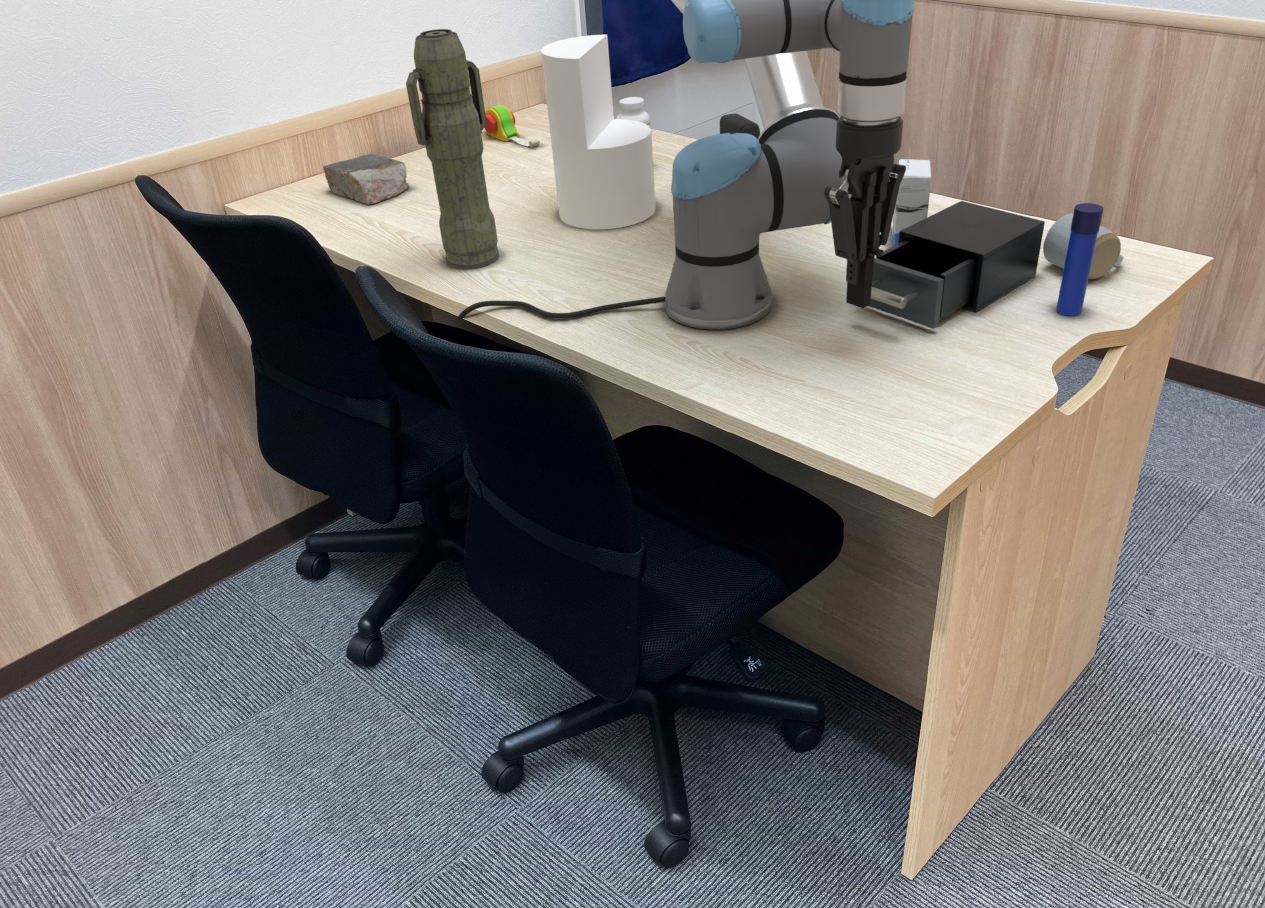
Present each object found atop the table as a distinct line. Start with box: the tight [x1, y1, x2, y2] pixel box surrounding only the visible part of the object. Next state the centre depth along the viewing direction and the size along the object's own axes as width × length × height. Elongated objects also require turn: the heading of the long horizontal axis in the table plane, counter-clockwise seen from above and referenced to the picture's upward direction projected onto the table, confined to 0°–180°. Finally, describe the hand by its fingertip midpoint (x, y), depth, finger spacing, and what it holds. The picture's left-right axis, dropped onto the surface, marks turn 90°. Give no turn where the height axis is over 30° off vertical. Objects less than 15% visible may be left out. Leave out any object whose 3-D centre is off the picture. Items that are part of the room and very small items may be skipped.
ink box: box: [891, 158, 932, 247], centre depth 155 cm, size 8×5×12 cm, turn 168°
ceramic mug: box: [1042, 212, 1125, 280], centre depth 143 cm, size 11×8×8 cm
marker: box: [1055, 202, 1104, 317], centre depth 131 cm, size 3×3×14 cm
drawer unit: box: [898, 200, 1046, 313], centre depth 142 cm, size 15×13×8 cm
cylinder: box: [540, 34, 657, 230], centre depth 170 cm, size 17×17×28 cm
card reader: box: [719, 113, 761, 139], centre depth 172 cm, size 9×4×15 cm, turn 22°
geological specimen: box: [322, 153, 410, 206], centre depth 195 cm, size 11×6×15 cm
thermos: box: [405, 28, 500, 270], centre depth 154 cm, size 9×12×35 cm
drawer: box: [868, 239, 979, 330], centre depth 136 cm, size 19×12×7 cm, turn 132°
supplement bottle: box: [615, 96, 651, 128], centre depth 194 cm, size 7×7×13 cm
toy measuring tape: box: [484, 104, 541, 148], centre depth 217 cm, size 6×20×7 cm, turn 40°
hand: (858, 303), depth 128 cm, fingers closed
